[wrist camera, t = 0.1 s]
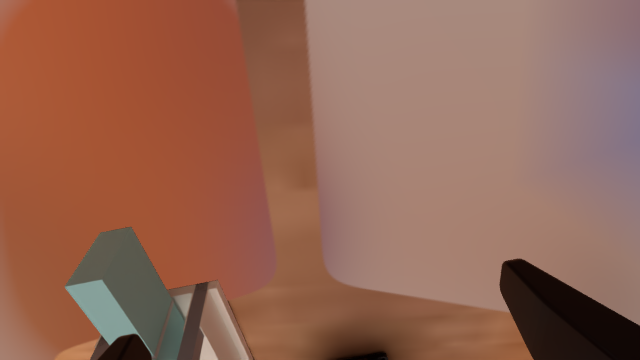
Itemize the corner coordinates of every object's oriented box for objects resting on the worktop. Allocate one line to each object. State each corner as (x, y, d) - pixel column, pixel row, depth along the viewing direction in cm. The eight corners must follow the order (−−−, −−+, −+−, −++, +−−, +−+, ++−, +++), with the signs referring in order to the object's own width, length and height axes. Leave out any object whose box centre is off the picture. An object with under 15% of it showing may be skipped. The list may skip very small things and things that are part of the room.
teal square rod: (212, 370, 31) (203, 427, 28) (188, 374, 31) (176, 432, 28) (131, 226, 23) (102, 279, 19) (99, 232, 23) (63, 287, 19)
